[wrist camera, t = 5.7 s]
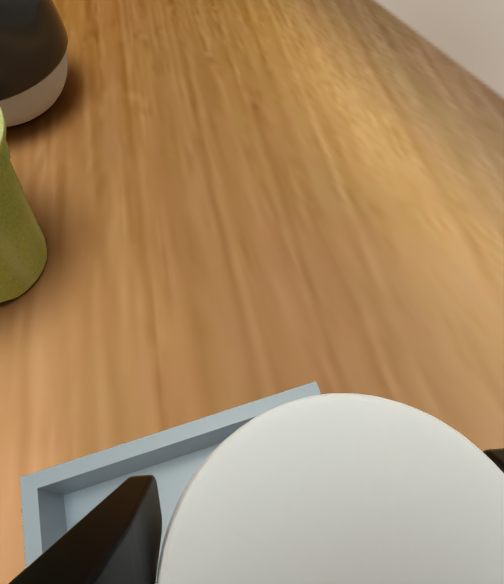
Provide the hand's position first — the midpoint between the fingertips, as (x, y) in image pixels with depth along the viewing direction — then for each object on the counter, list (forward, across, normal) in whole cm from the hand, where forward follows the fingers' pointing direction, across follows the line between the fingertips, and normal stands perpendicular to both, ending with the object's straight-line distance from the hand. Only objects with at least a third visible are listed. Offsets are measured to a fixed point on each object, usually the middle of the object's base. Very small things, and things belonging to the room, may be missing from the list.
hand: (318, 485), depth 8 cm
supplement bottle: (+4, 0, +6) cm, 7 cm away
